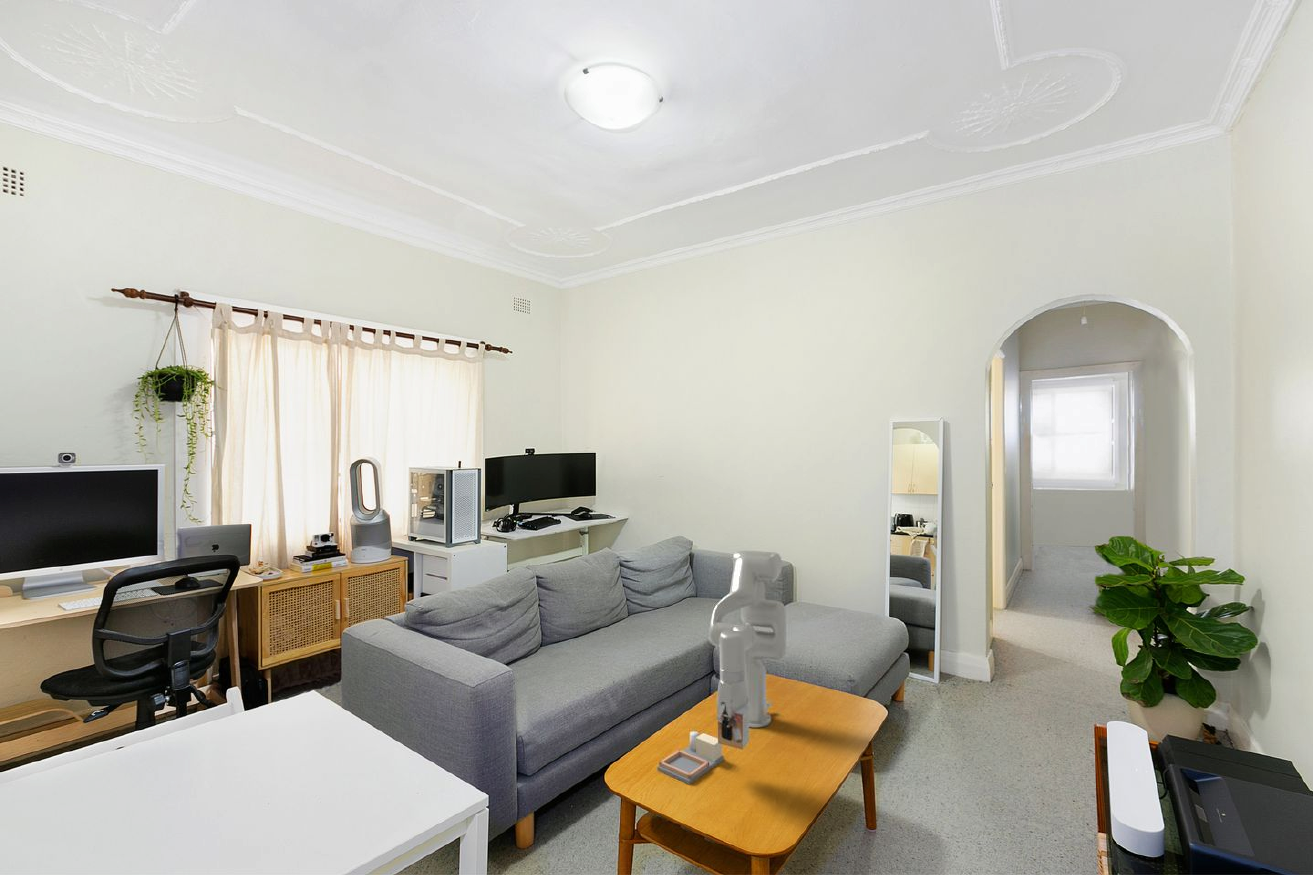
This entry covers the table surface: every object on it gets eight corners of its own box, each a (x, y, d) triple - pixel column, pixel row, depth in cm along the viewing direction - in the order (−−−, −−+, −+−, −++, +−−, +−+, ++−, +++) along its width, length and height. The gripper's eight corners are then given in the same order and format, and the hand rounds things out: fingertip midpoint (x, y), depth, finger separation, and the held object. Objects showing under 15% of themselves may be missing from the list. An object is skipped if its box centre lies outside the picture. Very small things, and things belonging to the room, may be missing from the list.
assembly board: (693, 746, 192) (692, 728, 192) (723, 759, 184) (723, 739, 184) (657, 769, 178) (657, 749, 178) (689, 784, 171) (688, 763, 171)
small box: (717, 743, 174) (717, 708, 174) (724, 735, 179) (723, 700, 179) (743, 750, 171) (742, 714, 170) (749, 741, 175) (749, 706, 175)
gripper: (737, 661, 184) (738, 718, 184) (705, 680, 170) (706, 741, 171) (758, 667, 179) (759, 726, 179) (727, 687, 166) (728, 750, 166)
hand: (733, 733), depth 175 cm, fingers closed on small box, 6 cm apart
